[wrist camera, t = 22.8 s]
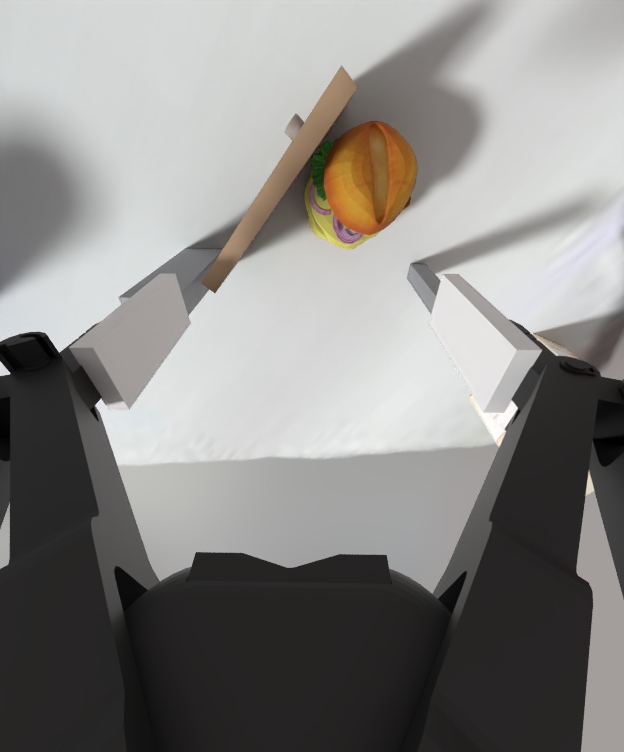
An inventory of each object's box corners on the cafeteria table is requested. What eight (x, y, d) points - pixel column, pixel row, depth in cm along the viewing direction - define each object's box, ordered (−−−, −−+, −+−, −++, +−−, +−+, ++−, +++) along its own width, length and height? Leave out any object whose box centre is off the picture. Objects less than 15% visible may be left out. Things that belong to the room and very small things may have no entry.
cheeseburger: (280, 192, 32) (291, 164, 23) (352, 122, 31) (393, 64, 22) (334, 265, 36) (361, 265, 27) (399, 205, 35) (450, 184, 26)
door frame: (185, 248, 38) (118, 297, 25) (427, 254, 37) (481, 307, 25) (191, 272, 40) (132, 329, 27) (421, 279, 39) (468, 339, 27)
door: (220, 245, 37) (190, 275, 28) (326, 79, 27) (328, 47, 19) (238, 260, 38) (215, 293, 29) (346, 106, 28) (357, 87, 20)
